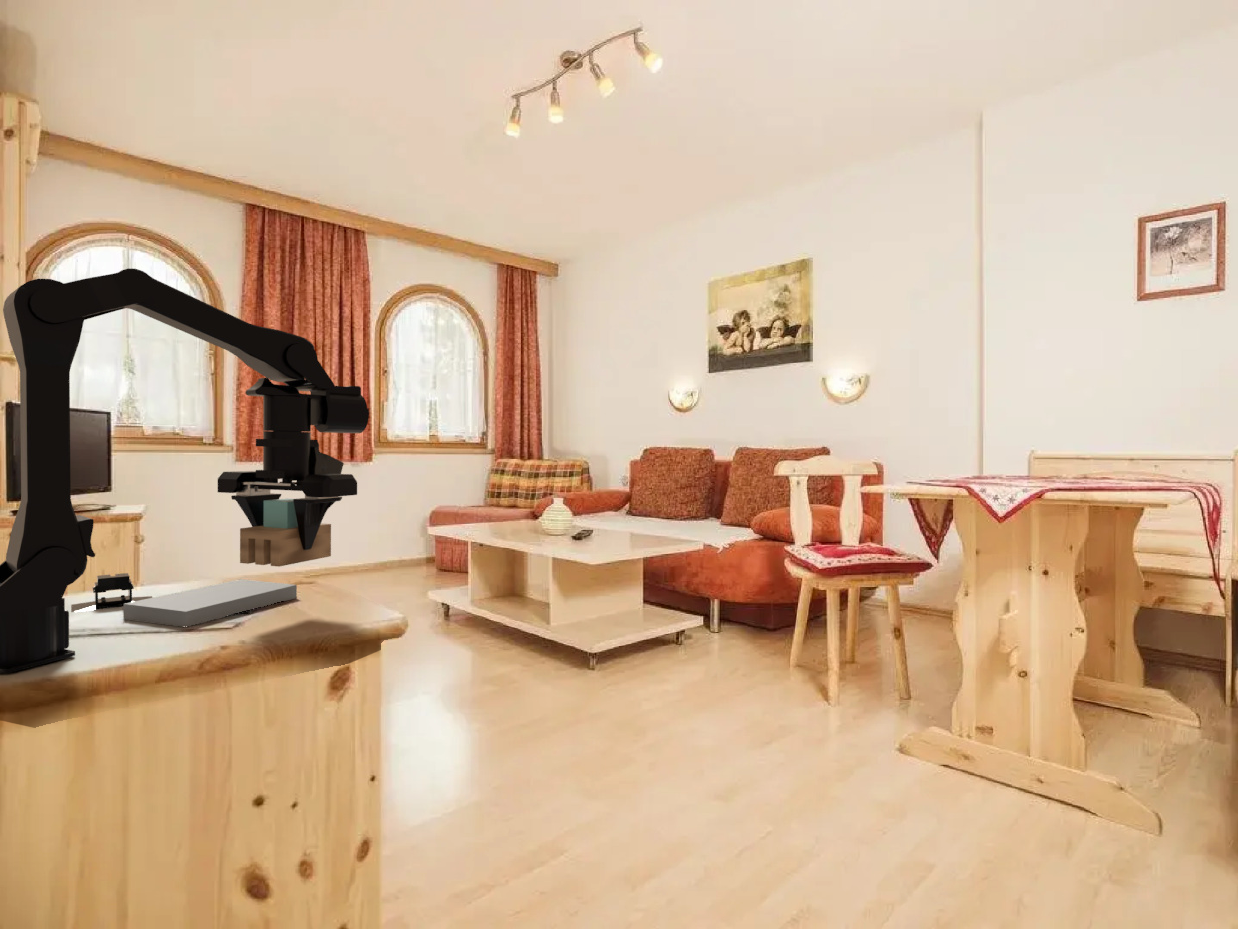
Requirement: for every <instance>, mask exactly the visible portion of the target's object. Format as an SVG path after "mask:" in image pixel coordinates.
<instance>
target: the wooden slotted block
mask: <svg viewBox="0 0 1238 929" xmlns="http://www.w3.org/2000/svg"><path fill="white" fill-rule="evenodd" d="M239 535H240V536H239V563H240V564H247V565H249V564H253V563H254V564H255V566H258V565H260V566H266V565H270V566H271V567H279V568H280V567H284V566H290V565H295V564H299V563H304V562H310V561H313V560H318V559H323V558H329V557H331V556H332V524H331V523H322V522H321V524H320V527H319V530H318V532H317V535H316V538H315V540H314V543H313V545H312V548H311V549H309V550H303V547H302V544H301V540H300V535H299V529H298V527H295V528H288V529H287V528H272V527H264V525H263V526H255V527H252V526H249V527H242V528H241V527H240V529H239Z"/></svg>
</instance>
